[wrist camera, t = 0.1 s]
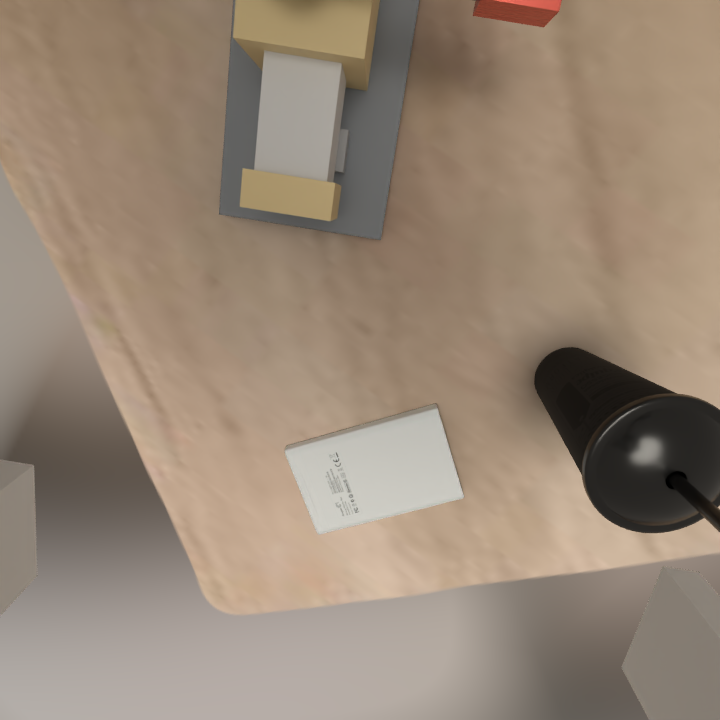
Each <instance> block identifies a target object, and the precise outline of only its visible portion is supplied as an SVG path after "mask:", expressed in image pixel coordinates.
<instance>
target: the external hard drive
mask: <svg viewBox="0 0 720 720" xmlns="http://www.w3.org/2000/svg"><path fill="white" fill-rule="evenodd" d="M285 454H286V458H287V460H288V462H289V465H290V467H291V470H292V472H293V474H294V477H295V479H296V482H297V484H298V487H299V489H300V492H301V494H302V497H303V499H304V502H305V504H306V507H307V509H308V512H309V514H310V517H311V519H312V522H313V524H314V527H315V529H316V531H317V533H318V534H319V535H320V534H324V533H328V532H332V531H336V530H340V529H344V528H348V527H352V526H356V525H360V524H364V523H368V522H372V521H376V520H380V519H384V518H388V517H391V516H396V515H399V514H403V513H407V512H411V511H415V510H419V509H424V508H427V507H431V506H435V505H439V504H443V503H447V502H451V501H454V500H458V499H462V498H464V494H463V491H462V488H461V484H460V481H459V478H458V474H457V471H456V468H455V464H454V461H453V458H452V454H451V451H450V448H449V444H448V441H447V438H446V434H445V431H444V428H443V424H442V421H441V418H440V414H439V411H438V407H437V404H436V403H435V404H432V405H428V406H425V407H421V408H418V409H414V410H411V411H407V412H404V413H400V414H397V415H393V416H390V417H386V418H382V419H379V420H375V421H372V422H369V423H365V424H362V425H358V426H354V427H351V428H348V429H344V430H340V431H337V432H333V433H330V434H326V435H323V436H319V437H316V438H312V439H309V440H305V441H302V442H298V443H294V444H291V445H288V446H286V448H285Z"/></svg>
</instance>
